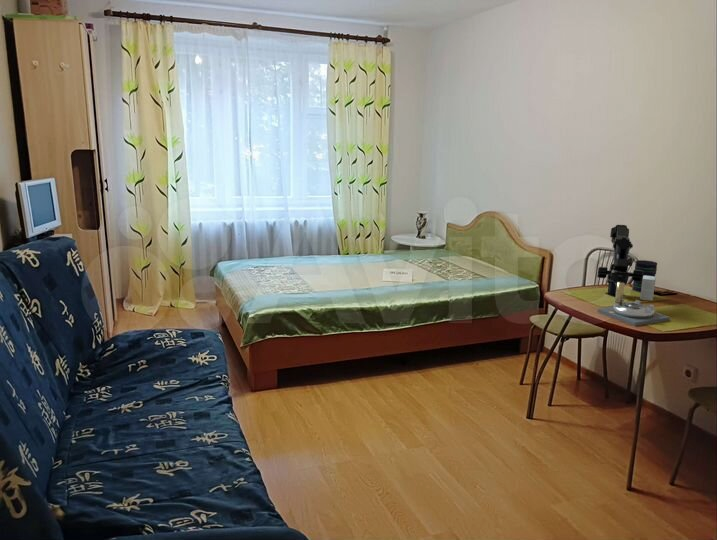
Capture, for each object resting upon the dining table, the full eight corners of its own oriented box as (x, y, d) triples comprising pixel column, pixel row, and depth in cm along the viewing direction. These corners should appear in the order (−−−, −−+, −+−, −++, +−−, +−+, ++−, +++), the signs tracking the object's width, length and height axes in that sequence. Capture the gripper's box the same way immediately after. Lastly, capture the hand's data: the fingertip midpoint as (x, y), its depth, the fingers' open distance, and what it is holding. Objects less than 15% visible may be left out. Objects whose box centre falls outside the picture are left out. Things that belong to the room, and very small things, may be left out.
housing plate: (597, 312, 236) (597, 308, 236) (631, 307, 243) (631, 303, 243) (634, 326, 218) (634, 322, 218) (669, 320, 225) (670, 316, 225)
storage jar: (658, 292, 267) (662, 263, 264) (641, 293, 265) (645, 264, 262) (643, 287, 277) (647, 259, 273) (627, 288, 275) (631, 260, 271)
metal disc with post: (604, 309, 235) (607, 282, 232) (631, 305, 240) (635, 279, 237) (634, 320, 220) (638, 291, 217) (662, 315, 226) (666, 288, 223)
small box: (640, 295, 262) (643, 275, 260) (653, 297, 260) (656, 276, 257) (639, 299, 256) (642, 278, 253) (652, 301, 253) (655, 279, 250)
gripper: (600, 249, 243) (597, 278, 236) (645, 253, 236) (644, 282, 229) (598, 263, 252) (595, 290, 245) (642, 266, 245) (640, 295, 237)
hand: (618, 289), depth 239 cm, fingers closed
